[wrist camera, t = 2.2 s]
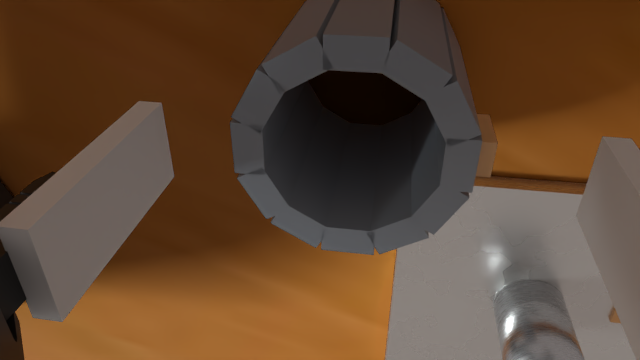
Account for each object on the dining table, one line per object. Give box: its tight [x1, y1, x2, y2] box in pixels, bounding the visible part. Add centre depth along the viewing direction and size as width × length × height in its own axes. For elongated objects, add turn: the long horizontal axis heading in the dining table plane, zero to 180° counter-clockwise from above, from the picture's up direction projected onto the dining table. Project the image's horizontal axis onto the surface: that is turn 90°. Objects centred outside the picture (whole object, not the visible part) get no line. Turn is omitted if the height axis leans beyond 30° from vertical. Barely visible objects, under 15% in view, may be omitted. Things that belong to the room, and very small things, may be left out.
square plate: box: [385, 176, 636, 360], centre depth 25 cm, size 14×14×6 cm
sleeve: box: [230, 0, 498, 255], centre depth 19 cm, size 8×8×8 cm
